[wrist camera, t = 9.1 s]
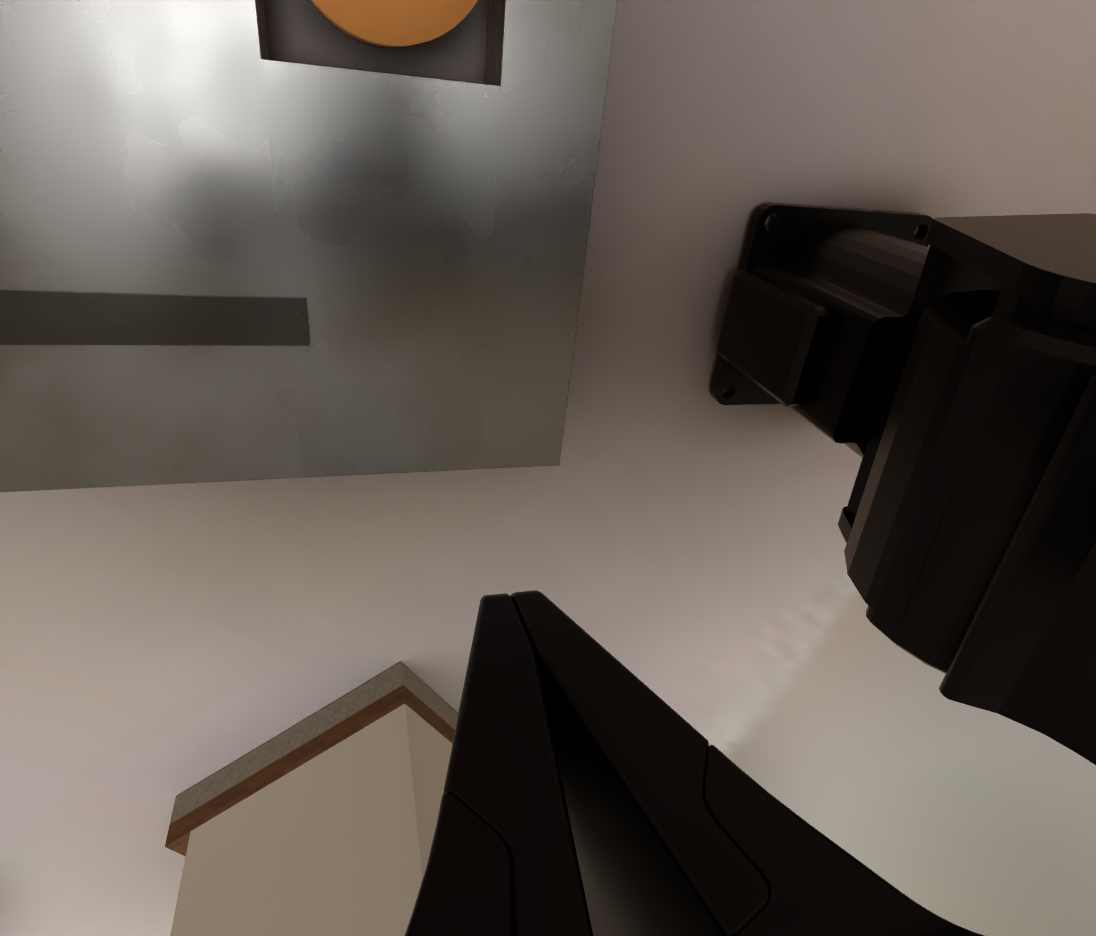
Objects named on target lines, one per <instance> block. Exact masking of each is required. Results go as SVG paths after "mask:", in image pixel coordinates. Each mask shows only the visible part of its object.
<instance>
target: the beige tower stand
mask: <svg viewBox="0 0 1096 936" xmlns="http://www.w3.org/2000/svg"><path fill="white" fill-rule="evenodd" d="M457 718H458V713H457V712H456V711H455V710H454V709H453V708H452V707H451V706H449V705H448V704H447V703H446V702H445V701H444V700H443V699H442V698H441V697H439V696H438V695H437V694H436V693H435V692H434V691H433V690H432V689H431V688H429V687H428V686H427V685H426V684H425V683H424V682H423V681H422V680H421V679H419V678H418V677H417V676H416V675H415V674H414V673H413V672H412V671H410V670H409V669H408V668H407V667H406V666H405V665H404V664H403V663H402V662H399V663H397V664H396V665H394V666H392V667H391V668H389V669H387V670H386V671H384V672H382V673H381V674H379V675H377V676H376V677H374V678H372V679H371V680H369V681H367V682H366V683H364V684H362V685H361V686H359V687H357V688H356V689H354V690H352V691H351V692H349V693H347V694H346V695H344V696H342V697H341V698H339V699H337V700H336V701H334V702H332V703H331V704H329V705H327V706H326V707H324V708H322V709H321V710H319V711H317V712H316V713H314V714H312V715H311V716H309V717H307V718H306V719H304V720H302V721H301V722H299V723H297V724H296V725H294V726H292V727H291V728H289V729H287V730H286V731H284V732H282V733H281V734H279V735H277V736H276V737H274V738H272V739H271V740H269V741H267V742H266V743H264V744H262V745H261V746H259V747H257V748H256V749H254V750H252V751H251V752H249V753H247V754H246V755H244V756H242V757H241V758H239V759H237V760H236V761H234V762H232V763H231V764H229V765H227V766H226V767H224V768H222V769H221V770H219V771H218V772H216V773H214V774H213V775H211V776H209V777H208V778H206V779H204V780H203V781H201V782H199V783H198V784H196V785H194V786H193V787H191V788H189V789H188V790H186V791H184V792H183V793H181V794H179V795H178V796H176V799H175V803H174V808H173V812H172V817H171V821H170V826H169V830H168V835H167V839H166V844H165V847H167V848H169V849H171V850H173V851H175V852H177V853H180V854H182V855H184V856H186V858H185V863H184V868H183V873H182V878H181V884H180V889H179V894H178V899H177V904H176V910H175V915H174V920H173V925H172V930H171V935H170V936H404V935H405V933H406V930H407V927H408V924H409V921H410V918H411V915H412V912H413V908H414V905H415V902H416V899H417V896H418V892H419V889H420V886H421V883H422V879H423V876H424V873H425V870H426V866H427V862H428V858H429V853H430V849H431V845H432V841H433V836H434V832H435V828H436V824H437V819H438V813H439V808H440V803H441V798H442V795H443V793H444V785H445V779H446V774H447V769H448V764H449V759H450V754H451V749H452V744H453V739H454V733H455V728H456V723H457Z"/></svg>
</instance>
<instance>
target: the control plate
mask: <svg viewBox="0 0 1096 936" xmlns="http://www.w3.org/2000/svg"><path fill="white" fill-rule="evenodd" d="M616 8H617V0H489V3H488V25H487V48H486V70H485V84H483V83H474V82H465V81H457V80H448V79H439V78H430V77H421V76H412V75H403V74H395V73H386V72H377V71H368V70H359V69H350V68H341V67H333V66H324V65H315V64H306V63H297V62H288V61H279V60H271V59H269V50H268V40H267V29H266V18H265V8H264V0H0V492H12V491H33V490H54V489H75V488H95V487H116V486H137V485H157V484H178V483H199V482H220V481H240V480H261V479H282V478H303V477H323V476H344V475H365V474H385V473H406V472H427V471H448V470H468V469H489V468H510V467H531V466H551V465H559V463H560V455H561V447H562V439H563V431H564V423H565V415H566V407H567V399H568V391H569V383H570V375H571V367H572V359H573V351H574V343H575V335H576V327H577V319H578V311H579V303H580V295H581V287H582V279H583V271H584V263H585V255H586V247H587V239H588V231H589V223H590V215H591V207H592V199H593V191H594V183H595V175H596V167H597V159H598V151H599V143H600V135H601V127H602V119H603V111H604V103H605V95H606V87H607V79H608V71H609V63H610V55H611V48H612V40H613V32H614V24H615V16H616Z"/></svg>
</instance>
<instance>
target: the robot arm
mask: <svg viewBox="0 0 1096 936" xmlns="http://www.w3.org/2000/svg"><path fill="white" fill-rule="evenodd" d="M771 214H772V215H773V221H772V223H771V225H770V226H769V227H768V228H765V221H766V219H767V217H768V216H770V215H771ZM918 226H919V229H918V231H917V233H916V234H915V235H914V231H915V229H916V228H917V227H918ZM929 244H930V247H928V245H929ZM717 351H718V352H719V354H718V358H717V362H716V366H715V370H714V375H713V379H712V383H711V387H710V393H711V395H712V397H713V398H714V399H715V400H717V401H718V402H719V403H720V404H723V405H744V404H783V405H784V406H789V407H791V408H792V409H793V410H794V411H796V412H797V413H798V414H800V415H801V416H802V417H804V418H805V419H806V420H807V421H809V422H810V423H811V424H813V425H814V426H815V427H817V428H818V429H819V430H820V431H822V432H823V433H824V434H826V435H827V436H828V437H829V438H831V439H832V440H833V441H835V442H837V443H844V444H845V445H847V446H848V447H849V448H851V449H852V450H853V451H855V452H856V453H857V454H859V455H860V456H861V457H862V458H863V459H862V462H861V465H860V468H859V472H858V475H857V478H856V481H855V484H854V487H853V490H852V494H851V497H850V500H849V503H848V506H847V507H844V508H843V509H842V513H841V516H840V519H839V522H838V526H839V528H840V530H841V533H842V535H843V537H844V539H845V541H846V543H847V544H846V547H845V550H844V552H845V559H846V566H847V573H848V575H849V577H850V579H851V580H852V582H853V583H854V585H855V587H856V588H857V590H858V591H859V593H860V595H861V596H862V598H863V599H864V601H865V602H866V603H867V604H868V608H867V610H866V616H867V618H868V619H869V621H870V622H871V623H872V624H873V625H874V626H875V627H876V628H878V629H879V630H880V631H881V632H882V633H883V634H884V635H886V636H887V637H888V638H889V639H890V640H891V641H892V642H894V643H895V644H896V645H897V646H899V647H900V648H902V649H903V650H905V651H906V652H908V653H909V654H911V655H913V656H914V657H916V658H917V659H919V660H921V661H922V662H923V663H925V664H927V665H929V666H931V667H933V668H935V669H937V670H939V671H941V672H943V673H945V674H946V675H945V677H944V679H943V681H942V683H941V685H940V688H939V690H940V692H941V693H942V694H943V696H945V697H946V698H948V699H950V700H953V701H956V702H960V703H963V704H967V705H970V706H974V707H977V708H981V709H985V710H988V711H991V712H995V713H998V714H1000V715H1003V716H1005V717H1007V718H1009V719H1012V720H1014V721H1016V722H1018V723H1021V724H1023V725H1025V726H1027V727H1029V728H1032V729H1034V730H1036V731H1039V732H1041V733H1043V734H1045V735H1047V736H1048V737H1050V738H1052V739H1054V740H1055V741H1057V742H1059V743H1060V744H1062V745H1064V746H1066V747H1067V748H1069V749H1071V750H1073V751H1074V752H1076V753H1078V754H1079V755H1081V756H1082V757H1084V758H1086V759H1087V760H1089V761H1090V762H1092V763H1093V764H1095V765H1096V214H1050V215H1014V216H978V217H942V218H934V219H932V218H931V217H929V216H927V215H923V214H919V213H908V212H894V211H880V210H866V209H852V208H838V207H824V206H810V205H797V204H783V203H764V204H762V205H761V206H759V207H758V208H757V209H756V210H755V212H754V213H753V215H752V218H751V221H750V225H749V229H748V233H747V238H746V242H745V246H744V250H743V254H742V258H741V263H740V267H739V271H738V274H737V275H736V276H735V277H734V280H733V284H732V288H731V293H730V297H729V301H728V305H727V309H726V314H725V318H724V322H723V326H722V330H721V334H720V339H719V343H718V347H717ZM727 385H730V388H729V390H728V391H727V392H726V393H723V394H722V391H723V389H724V388H725V387H726V386H727ZM708 745H709V743H708V740H707V739H706V738H704V737H703V736H702V735H701V734H700V733H699V732H698V731H697V730H695V729H694V728H693V727H692V726H691V725H690V724H689V723H688V722H686V721H685V720H684V719H683V718H682V717H681V716H680V715H679V714H677V713H676V712H675V711H674V710H673V709H672V708H671V707H670V706H668V705H667V704H666V703H665V702H664V701H663V700H662V699H661V698H659V697H658V696H657V695H656V694H655V693H654V692H653V691H652V690H650V689H649V688H648V687H647V686H646V685H645V684H644V683H643V682H641V681H640V680H639V679H638V678H637V677H636V676H635V675H634V674H632V673H631V672H630V671H629V670H628V669H627V668H626V667H625V666H623V665H622V664H621V663H620V662H619V661H618V660H617V659H616V658H614V657H613V656H612V655H611V654H610V653H609V652H608V651H607V650H605V649H604V648H603V647H602V646H601V645H600V644H599V643H598V642H596V641H595V640H594V639H593V638H592V637H591V636H590V635H589V634H587V633H586V632H585V631H584V630H583V629H582V628H581V627H580V626H578V625H577V624H576V623H575V622H574V621H573V620H572V619H571V618H569V617H568V616H567V615H566V614H565V613H564V612H563V611H561V610H560V609H559V608H558V607H557V606H556V605H555V604H554V603H552V602H551V601H550V600H549V599H548V598H547V597H546V596H545V595H543V594H542V593H541V592H539V591H525V592H515V593H513V594H512V595H511V596H510V595H508V594H495V595H486V596H483V597H482V598H481V601H480V606H479V611H478V616H477V621H476V626H475V631H474V636H473V642H472V647H471V652H470V657H469V662H468V667H467V672H466V677H465V682H464V688H463V693H462V698H461V703H460V708H459V713H458V718H457V723H456V728H455V733H454V739H453V744H452V749H451V754H450V759H449V764H448V769H447V774H446V779H445V785H444V793H443V795H442V798H441V803H440V808H439V813H438V819H437V824H436V828H435V832H434V836H433V841H432V845H431V849H430V853H429V858H428V862H427V866H426V870H425V873H424V876H423V879H422V883H421V886H420V889H419V892H418V896H417V899H416V902H415V905H414V908H413V912H412V915H411V918H410V921H409V924H408V927H407V930H406V933H405V935H404V936H984V935H981V934H978V933H975V932H972V931H969V930H967V929H965V928H962V927H960V926H957V925H955V924H953V923H951V922H949V921H947V920H945V919H943V918H941V917H939V916H938V915H936V914H934V913H932V912H931V911H929V910H927V909H926V908H924V907H922V906H921V905H919V904H917V903H916V902H914V901H913V900H912V899H910V898H909V897H907V896H906V895H905V894H903V893H902V892H900V891H899V890H898V889H896V888H895V887H894V886H892V885H891V884H889V883H888V882H887V881H885V880H884V879H883V878H881V877H880V876H878V875H877V874H876V873H874V872H873V871H872V870H871V869H869V868H868V867H866V866H865V865H864V864H862V863H861V862H860V861H858V860H857V859H856V858H854V857H853V856H852V855H850V854H849V853H847V852H846V851H845V850H844V849H842V848H841V847H839V846H838V845H837V844H835V843H834V842H833V841H831V840H830V839H829V838H827V837H826V836H825V835H823V834H822V833H821V832H819V831H818V830H817V829H815V828H814V827H813V826H811V825H810V824H808V823H807V822H806V821H805V820H803V819H802V818H801V817H799V816H798V815H796V814H795V813H794V812H793V811H792V810H790V809H789V808H788V807H786V806H785V805H784V804H783V803H781V802H780V801H779V800H777V799H776V798H775V797H774V796H772V795H771V794H770V793H768V792H767V791H766V790H765V789H764V788H762V787H761V786H760V785H759V784H758V783H756V782H755V781H754V780H753V779H752V778H750V777H749V776H748V775H747V774H746V773H745V772H743V771H742V770H741V769H740V768H739V767H738V766H736V765H735V764H734V763H733V762H732V761H731V760H730V759H728V758H727V757H726V756H725V755H724V754H723V753H722V752H721V751H719V750H718V749H717V748H716V747H715V746H714V745H710V746H709V747H708Z"/></svg>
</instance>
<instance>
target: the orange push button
mask: <svg viewBox="0 0 1096 936" xmlns="http://www.w3.org/2000/svg"><path fill="white" fill-rule="evenodd" d="M310 1H311V3H312V4H313V5H314V7H315V8H316V9H317V10H318V11H319V12H320V13H321V14H322V15H323V16H324V18H325V19H327V20H328V21H329V22H330V23H331V24H332V25H334V26H335V27H336V28H337V29H339V30H340V31H342V32H343V33H345V34H346V35H348V36H350V37H352V38H354V39H356V40H358V41H361V42H363V43H366V44H369V45H373V46H378V47H388V48H396V47H405V46H410V45H415V44H419V43H423V42H427V41H430V40H433V39H435V38H437V37H439V36H442V35H443V34H445V33H446V32H448V31H449V30H451V29H453V28H454V27H455V26H456V25H457V24H458V23H460V22H461V21H462V20H463V19H464V18H465V17H466V16H467V14H468V13H469V12H470V11H471V10H472V8H473V7H474V6H475V4H476V2H477V1H478V0H310Z"/></svg>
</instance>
